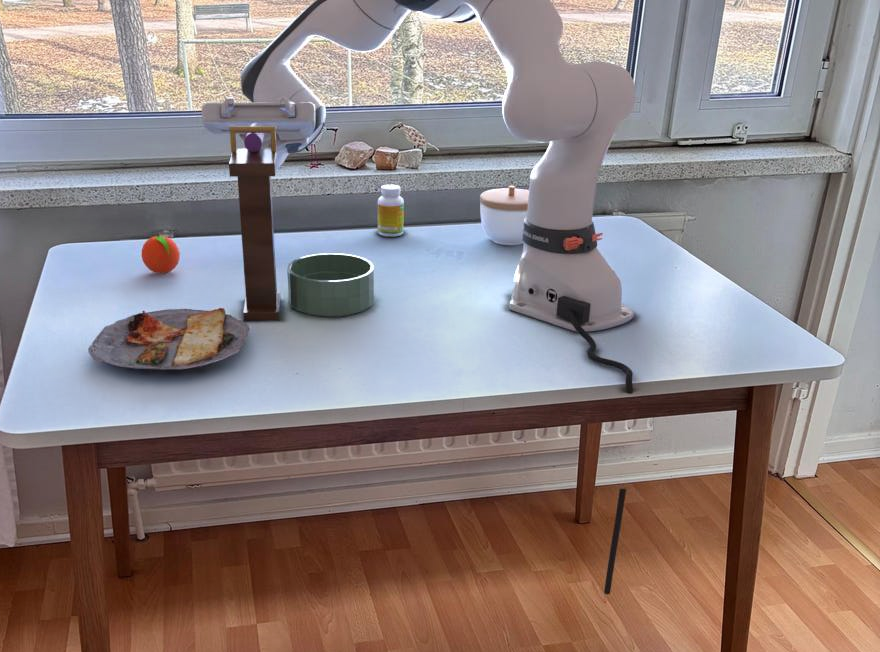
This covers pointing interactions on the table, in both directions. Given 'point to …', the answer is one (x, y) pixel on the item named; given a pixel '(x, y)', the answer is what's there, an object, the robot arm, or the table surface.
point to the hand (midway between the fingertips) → (256, 102)
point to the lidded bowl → (504, 214)
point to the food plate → (170, 339)
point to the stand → (257, 224)
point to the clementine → (160, 254)
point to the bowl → (331, 284)
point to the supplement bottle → (390, 211)
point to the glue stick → (254, 140)
